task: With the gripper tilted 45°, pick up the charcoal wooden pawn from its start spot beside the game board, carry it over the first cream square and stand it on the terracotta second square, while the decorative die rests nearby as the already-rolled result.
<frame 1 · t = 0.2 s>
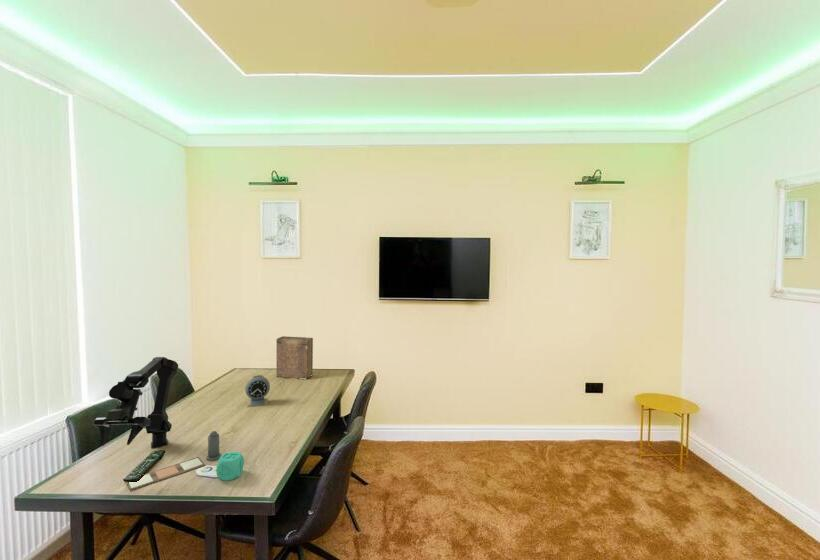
hand: (115, 445, 147), 15 cm above the table, tool tilted 35°, fingers open, 9 cm apart
pawn: (213, 457, 167), on the table
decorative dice: (230, 475, 154), on the table
game board: (166, 473, 154), on the table
alarm clock: (257, 403, 233), on the table
book: (294, 377, 288), on the table
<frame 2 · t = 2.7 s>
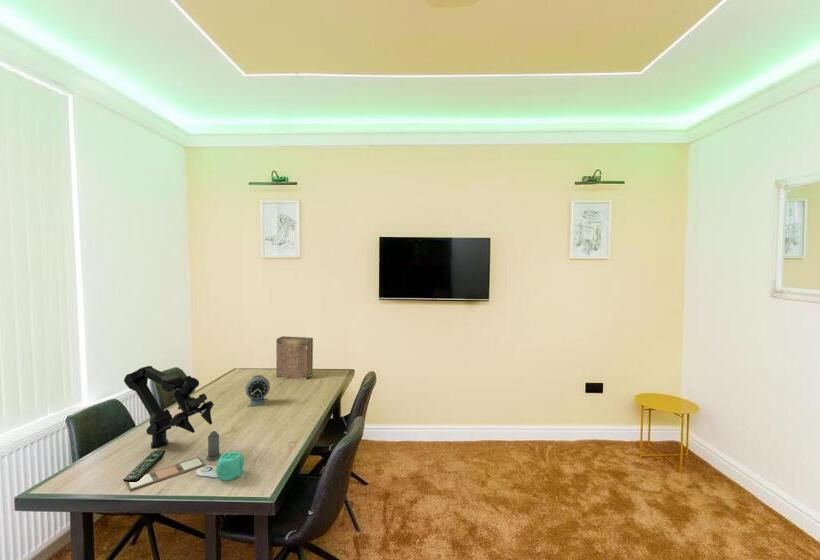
hand: (202, 428, 169), 12 cm above the table, tool tilted 45°, fingers open, 9 cm apart
nothing on the table moved.
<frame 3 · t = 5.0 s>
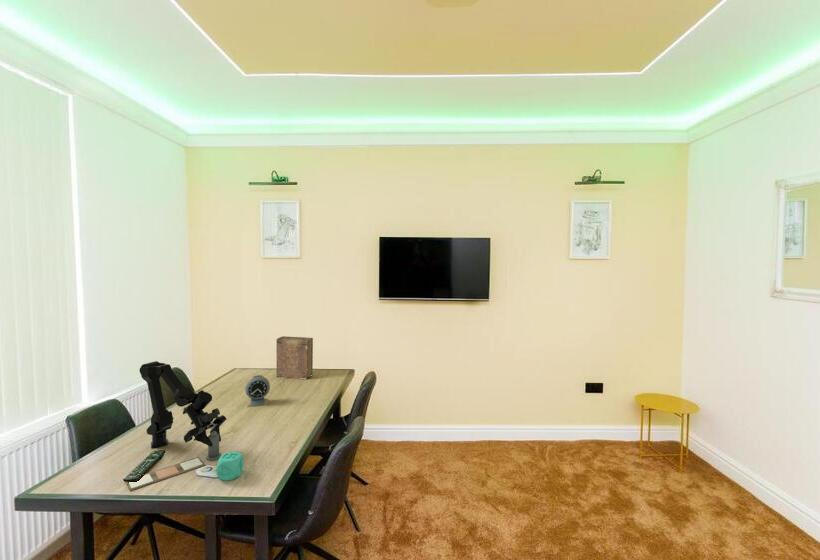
hand: (216, 443, 167), 7 cm above the table, tool tilted 45°, fingers closed on pawn, 4 cm apart
pawn: (213, 457, 167), on the table, touching gripper
everything else where it was.
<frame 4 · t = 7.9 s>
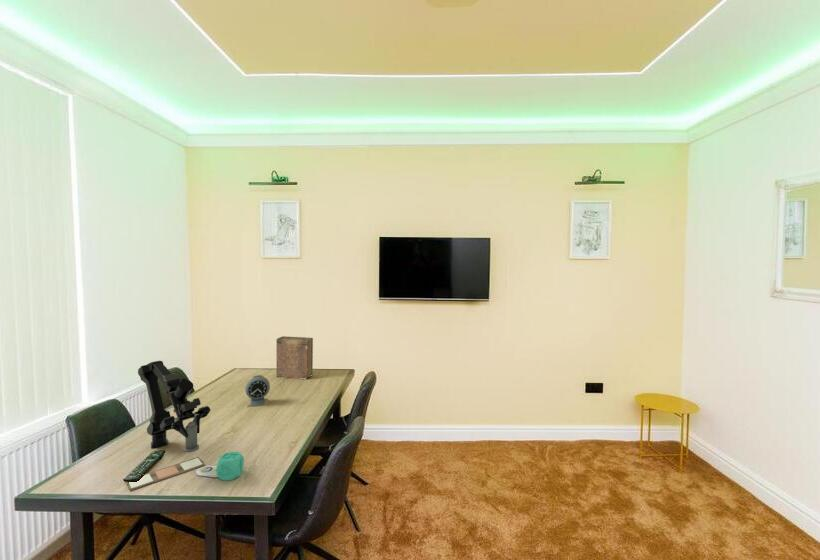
hand: (192, 435, 160), 14 cm above the table, tool tilted 45°, fingers closed on pawn, 4 cm apart
pawn: (191, 449, 161), point 7 cm above the table, touching gripper
everything else where it was.
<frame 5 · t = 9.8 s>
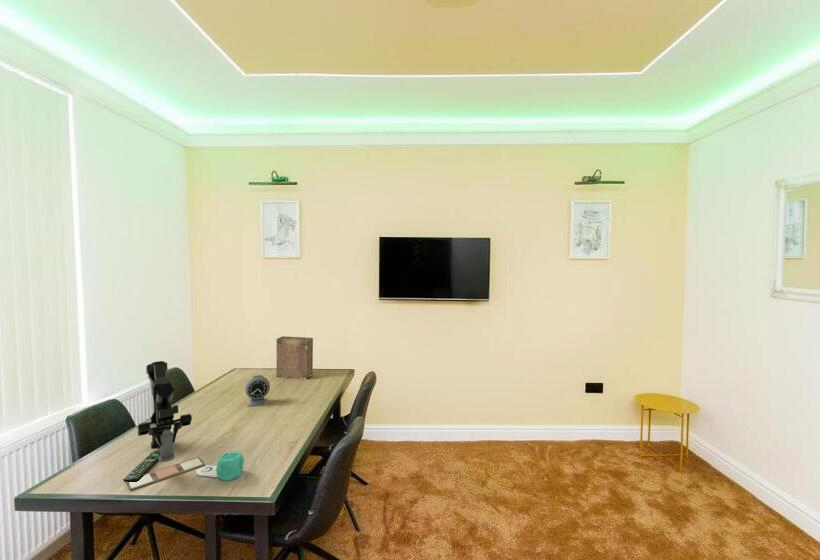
hand: (167, 444, 153), 13 cm above the table, tool tilted 45°, fingers closed on pawn, 4 cm apart
pawn: (166, 458, 154), point 6 cm above the table, touching gripper
everything else where it was.
when the fingers open (8 cm above the table, at t = 11.0 s): pawn drops 1 cm, resting on game board.
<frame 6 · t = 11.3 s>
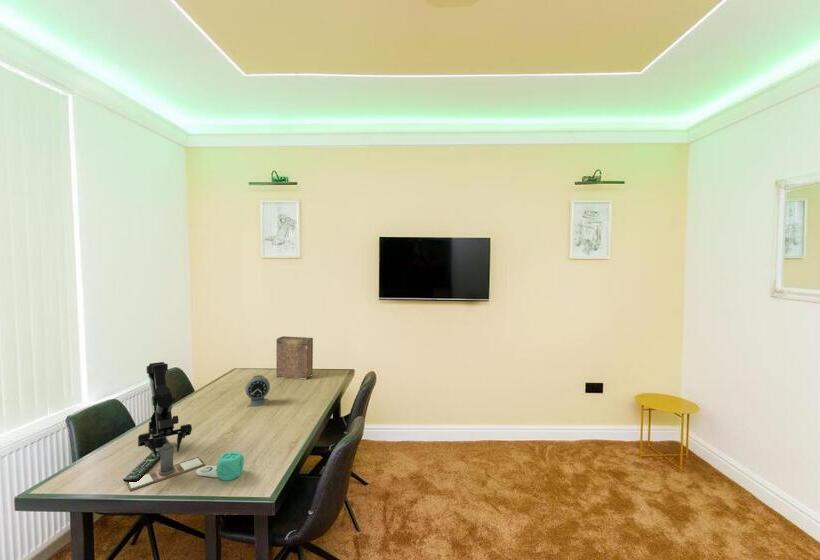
hand: (167, 454, 153), 8 cm above the table, tool tilted 45°, fingers open, 7 cm apart
pawn: (166, 471, 154), point 1 cm above the table, touching game board
everything else where it was.
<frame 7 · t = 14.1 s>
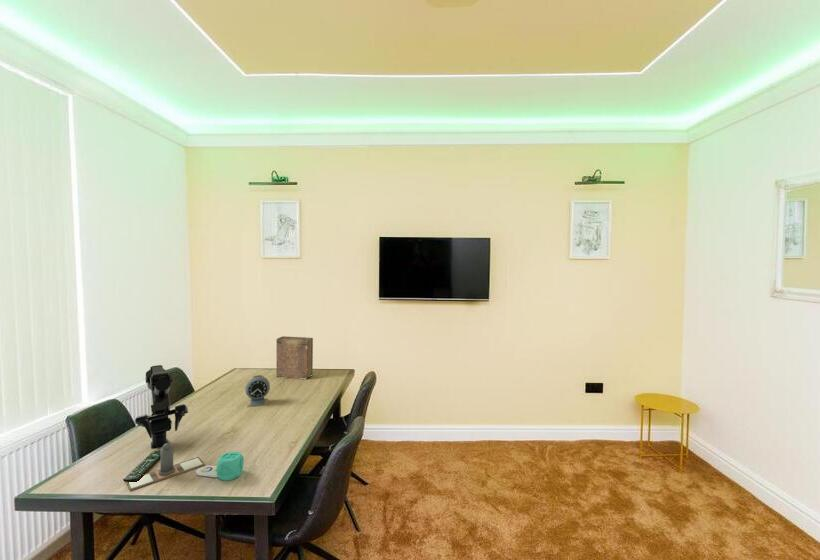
hand: (163, 434, 161), 13 cm above the table, tool tilted 40°, fingers open, 9 cm apart
nothing on the table moved.
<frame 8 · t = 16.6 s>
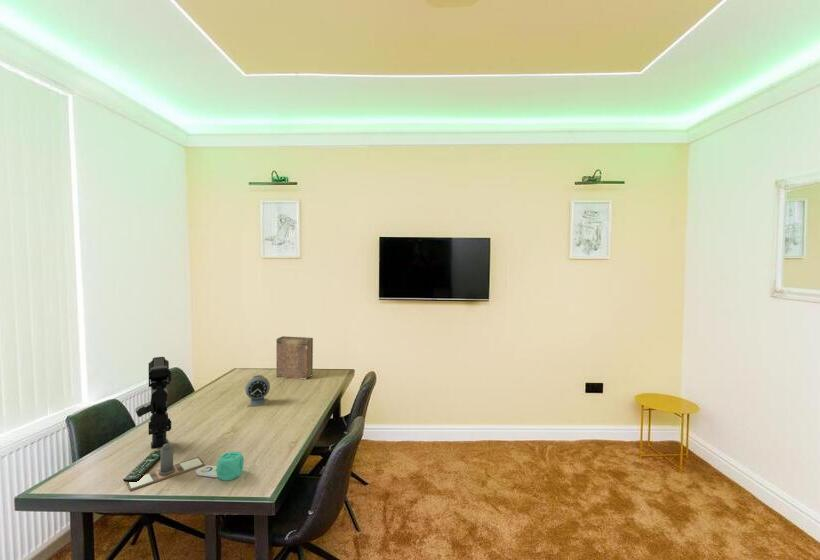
hand: (159, 430, 166), 12 cm above the table, tool pointing down, fingers open, 9 cm apart
nothing on the table moved.
at the end: pawn inside the target area on the game board (0.0 cm from its centre), point 0.5 cm above the game board's base; pawn tilted 0°; the gripper is holding nothing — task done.
